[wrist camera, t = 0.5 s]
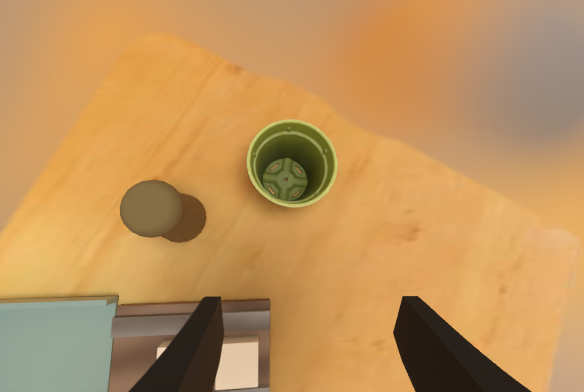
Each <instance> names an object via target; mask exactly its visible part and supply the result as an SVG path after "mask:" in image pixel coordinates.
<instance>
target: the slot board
mask: <svg viewBox="0 0 584 392" xmlns="http://www.w3.org/2000/svg"><path fill="white" fill-rule="evenodd" d="M199 303H200V302H175V303H147V304H121V305H119V306H117V313H116V316H115V317H113V318H112V327H111V337H110V338H114V343H113V353H112V364H111V374H110V384H109V392H128V391H129V390H130V389H131V388H132V387H133V386H134V385H135V384H136V383H137V381H138V380H139V379H140V378H141V377H142V376H143V375H144V374H145V373H146V371H147V370H148V369H149V368H150V367H151V366H152V364H153V363H154V362H155V361H156V360H157V348H158V347H159V346H160V345H161V344H162V343H163V342H164V340H173V339H174V337H175V336H176V335H177V334H178V332H179V331H180V330H181V328H182V327H183V326H184V324H185V323H186V322H187V320H188V319H189V317H190V316H191V315H192V313H193V312H194V310H195V309H196V307H197V306H198V305H199ZM221 304H222V315H223V325H224V337H237V336H256V335H258V387H251V388H238V389H226V390H215V382H216V379H215V382H214V386H213V390H212V392H270V387H269V330H270V300H269V299H256V300H229V301H221Z"/></svg>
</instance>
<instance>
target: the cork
mask: <svg viewBox="0 0 584 392" xmlns="http://www.w3.org/2000/svg"><path fill="white" fill-rule="evenodd" d="M120 216H121V218H122V221H123V223H124V224H125V225H126V227H127V228H128V229H129V230H130V231H132V232H133V233H135V234H137V235H139V236H144V237H158V236H162V237H164V238H166V239H168V240H170V241H172V242H179V243H180V242H186V241H189V240H191V239H193V238H195V237H196V236H197V235H198V234H200V233H201V231H202V229H203V228H204V226H205V222H206V212H205V209H204V207H203V205H202V203H201V202H200V201H199V200H198V199H196V198H194V197H192V196H190V195H185V194H180V193H179V192H178V191H177V190H176V189H175V188H174V187H173V186H171V185H169V184H167V183H165V182H163V181H157V180H149V181H142V182H140V183H138V184H136V185H134V186H133V187H131V188H130V189H129V190H128V191H127V192H126V194H125V195H124V197H123V198H122V201H121V205H120Z"/></svg>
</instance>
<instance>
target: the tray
mask: <svg viewBox="0 0 584 392" xmlns="http://www.w3.org/2000/svg"><path fill="white" fill-rule="evenodd" d="M118 297H119V295H118V296H87V297H57V298H26V299H0V392H109V384H110V374H111V364H112V353H113V343H114V338H110V337H111V327H112V318H113V317H115V316H116V313H117V306H118Z"/></svg>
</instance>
